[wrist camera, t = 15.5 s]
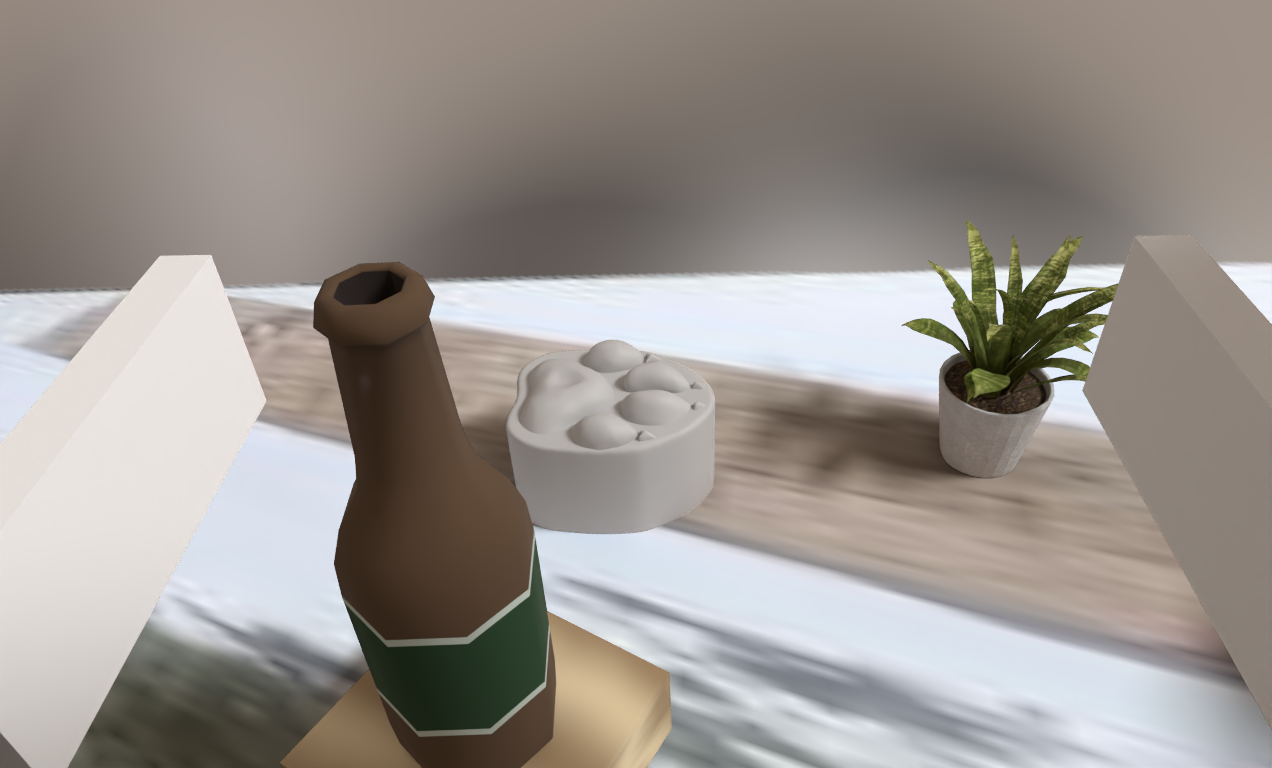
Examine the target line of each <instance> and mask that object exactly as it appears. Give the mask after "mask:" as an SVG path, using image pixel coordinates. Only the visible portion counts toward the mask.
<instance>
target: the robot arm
mask: <svg viewBox="0 0 1272 768" xmlns="http://www.w3.org/2000/svg"><path fill="white" fill-rule="evenodd" d="M1083 392H1084V394H1085V396H1086V398H1087V400H1088V401H1089V403H1090V405H1091V407H1092V409H1093V410H1094V412H1095V414H1096V416H1097V418H1098V419H1099V421H1100V423H1101V425H1102V427H1103V428H1104V430H1105V432H1106V434H1107V435H1108V437H1109V439H1110V441H1111V443H1112V444H1113V446H1114V448H1115V450H1116V452H1117V453H1118V455H1119V457H1120V459H1121V461H1122V462H1123V464H1124V466H1125V468H1126V470H1127V471H1128V473H1129V475H1130V477H1131V478H1132V480H1133V482H1134V484H1135V486H1136V487H1137V489H1138V491H1139V493H1140V495H1141V496H1142V498H1143V500H1144V502H1145V504H1146V505H1147V507H1148V509H1149V511H1150V513H1151V514H1152V516H1153V518H1154V520H1155V521H1156V523H1157V525H1158V527H1159V529H1160V530H1161V532H1162V534H1163V536H1164V538H1165V539H1166V541H1167V543H1168V545H1169V547H1170V548H1171V550H1172V552H1173V554H1174V556H1175V557H1176V559H1177V561H1178V563H1179V564H1180V566H1181V568H1182V570H1183V572H1184V573H1185V575H1186V577H1187V579H1188V581H1189V582H1190V584H1191V586H1192V588H1193V590H1194V591H1195V593H1196V595H1197V597H1198V599H1199V600H1200V602H1201V604H1202V606H1203V607H1204V609H1205V611H1206V613H1207V615H1208V616H1209V618H1210V620H1211V622H1212V624H1213V625H1214V627H1215V629H1216V631H1217V633H1218V634H1219V636H1220V638H1221V640H1222V641H1223V643H1224V645H1225V647H1226V649H1227V650H1228V652H1229V654H1230V656H1231V658H1232V659H1233V661H1234V663H1235V665H1236V667H1237V668H1238V670H1239V672H1240V674H1241V676H1242V677H1243V679H1244V681H1245V683H1246V684H1247V686H1248V688H1249V690H1250V692H1251V693H1252V695H1253V697H1254V699H1255V701H1256V702H1257V704H1258V706H1259V708H1260V710H1261V711H1262V713H1263V715H1264V717H1265V719H1266V720H1267V722H1268V724H1269V726H1270V727H1271V729H1272V324H1271V323H1270V322H1269V321H1268V320H1267V319H1266V318H1265V316H1264V315H1263V314H1262V313H1261V312H1260V311H1259V310H1258V309H1257V308H1256V306H1255V305H1254V304H1253V303H1252V302H1251V301H1250V300H1249V299H1248V298H1247V296H1246V295H1245V294H1244V293H1243V292H1242V291H1241V290H1240V289H1239V287H1238V286H1237V285H1236V284H1235V283H1234V282H1233V281H1232V280H1231V279H1230V277H1229V276H1228V275H1227V274H1226V273H1225V272H1224V271H1223V270H1222V268H1221V267H1220V266H1219V265H1218V264H1217V263H1216V262H1215V261H1214V260H1213V258H1211V256H1210V255H1209V254H1208V253H1207V252H1206V251H1205V250H1204V249H1203V247H1202V246H1201V245H1200V244H1199V243H1198V242H1197V241H1196V239H1195V238H1194V237H1193V236H1192V235H1170V236H1168V235H1167V236H1135V237H1134V240H1133V243H1132V246H1131V249H1130V252H1129V255H1128V258H1127V261H1126V264H1125V266H1124V269H1123V272H1122V275H1121V278H1120V281H1119V284H1118V287H1117V290H1116V293H1115V296H1114V299H1113V302H1112V305H1111V308H1110V311H1109V314H1108V317H1107V320H1106V323H1105V326H1104V329H1103V331H1102V334H1101V337H1100V340H1099V343H1098V346H1097V349H1096V352H1095V355H1094V358H1093V361H1092V364H1091V367H1090V370H1089V373H1088V376H1087V379H1086V382H1085V385H1084V388H1083ZM265 402H266V398H265V396H264V393H263V391H262V388H261V385H260V383H259V380H258V377H257V375H256V372H255V369H254V367H253V364H252V362H251V359H250V356H249V354H248V351H247V348H246V346H245V343H244V340H243V338H242V335H241V333H240V330H239V327H238V325H237V322H236V319H235V317H234V314H233V311H232V309H231V306H230V304H229V301H228V298H227V296H226V293H225V290H224V288H223V285H222V283H221V280H220V277H219V274H218V272H217V269H216V267H215V264H214V262H213V259H212V256H211V255H187V256H160V257H159V258H158V259H157V260H156V261H155V262H154V264H153V265H152V266H151V267H150V268H149V270H148V271H147V272H146V273H145V274H144V275H143V277H142V278H141V279H140V280H139V281H138V282H137V284H136V285H135V286H134V287H133V288H132V290H131V291H130V292H129V293H128V294H127V295H126V297H125V298H124V299H123V300H122V301H121V303H120V304H119V305H118V306H117V307H116V308H115V310H114V311H113V312H112V313H111V314H110V315H109V317H108V318H107V319H106V320H105V321H104V323H103V324H102V325H101V326H100V327H99V328H98V330H97V331H96V332H95V333H94V334H93V335H92V337H91V338H90V339H89V340H88V341H87V343H86V344H85V345H84V346H83V347H82V348H81V350H80V351H79V352H78V353H77V354H76V356H75V357H74V358H73V359H72V360H71V361H70V363H69V364H68V365H67V366H66V367H65V368H64V370H63V371H62V372H61V373H60V374H59V376H58V377H57V378H56V379H55V380H54V381H53V383H52V384H51V385H50V386H49V387H48V389H47V390H46V391H45V392H44V393H43V394H42V396H41V397H40V398H39V399H38V400H37V401H36V403H35V404H34V405H33V406H32V407H31V409H30V410H29V411H28V412H27V413H26V414H25V416H24V417H23V418H22V419H21V420H20V422H19V423H18V424H17V425H16V426H15V427H14V429H13V430H12V431H11V432H10V433H9V434H8V436H7V437H6V438H5V439H4V440H3V442H2V443H1V444H0V768H68V766H69V764H70V762H71V760H72V759H73V757H74V755H75V753H76V751H77V749H78V747H79V746H80V744H81V742H82V740H83V738H84V736H85V735H86V733H87V731H88V729H89V727H90V725H91V723H92V722H93V720H94V718H95V716H96V714H97V712H98V711H99V709H100V707H101V705H102V703H103V701H104V699H105V698H106V696H107V694H108V692H109V690H110V688H111V687H112V685H113V683H114V681H115V679H116V677H117V675H118V674H119V672H120V670H121V668H122V666H123V664H124V663H125V661H126V659H127V657H128V655H129V653H130V651H131V650H132V648H133V646H134V644H135V642H136V640H137V639H138V637H139V635H140V633H141V631H142V629H143V628H144V626H145V624H146V622H147V620H148V618H149V616H150V615H151V613H152V611H153V609H154V607H155V605H156V604H157V602H158V600H159V598H160V596H161V594H162V592H163V591H164V589H165V587H166V585H167V583H168V581H169V580H170V578H171V576H172V574H173V572H174V570H175V568H176V567H177V565H178V563H179V561H180V559H181V557H182V556H183V554H184V552H185V550H186V548H187V546H188V544H189V543H190V541H191V539H192V537H193V535H194V533H195V532H196V530H197V528H198V526H199V524H200V522H201V520H202V519H203V517H204V515H205V513H206V511H207V509H208V508H209V506H210V504H211V502H212V500H213V498H214V496H215V495H216V493H217V491H218V489H219V487H220V485H221V484H222V482H223V480H224V478H225V476H226V474H227V472H228V471H229V469H230V467H231V465H232V463H233V461H234V460H235V458H236V456H237V454H238V452H239V450H240V448H241V447H242V445H243V443H244V441H245V439H246V437H247V436H248V434H249V432H250V430H251V428H252V426H253V424H254V423H255V421H256V419H257V417H258V415H259V413H260V412H261V410H262V408H263V406H264V404H265Z"/></svg>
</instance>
